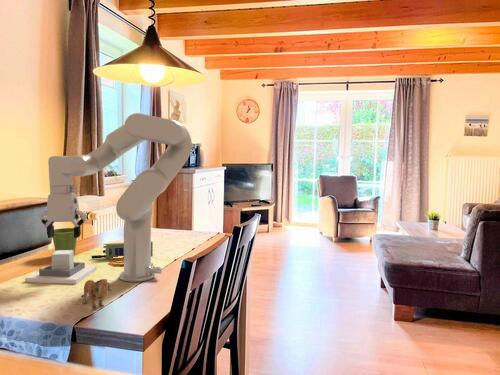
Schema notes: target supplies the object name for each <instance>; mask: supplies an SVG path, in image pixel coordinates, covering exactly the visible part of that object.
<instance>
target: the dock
mask: <svg viewBox="0 0 500 375" xmlns="http://www.w3.org/2000/svg"><path fill="white" fill-rule="evenodd" d="M85 264H86V263H85V262H82V261H81V262H79V261H78V262H76V261H74V268H72V269H70V270H52V263H51V264H49V265H47V266H44V267H43V268H39V269H38V270H37V271H35V272H33V273H32V274H30V275H28V276H26V277H24V282H25V283H42V284H43V283H44V284H45V283H46V284H47V283H48V284H65V283H66V284H67V285H69V284H70V285H77V284H78V283H80V282H81V281H82V280H84V279H86V278H88V277H89V276H90V275H92V274H93V273H95V272H96V271H98V268H97V267H98V266H97V265H85Z"/></svg>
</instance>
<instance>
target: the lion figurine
mask: <svg viewBox="0 0 500 375" xmlns="http://www.w3.org/2000/svg"><path fill="white" fill-rule="evenodd" d="M113 288H114V285H112V284H111V283H109V282H108V279H106V278H101V279H99V280H97V281H95V280H92V279H88V280H87V281H85V282H84V286H83V294H82V295H81V296H80V297H81V298H83V302H82V305H86V304H88V301H87V298H89V299H90V300H91V311H96V310H97V306H96V301H98V306H99V308H104V305H105V304H103V299H105V297H106V296H108V293H111V292H112V290H113ZM87 295H89V296H87Z"/></svg>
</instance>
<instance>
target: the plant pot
mask: <svg viewBox="0 0 500 375" xmlns="http://www.w3.org/2000/svg"><path fill="white" fill-rule="evenodd" d="M51 238H52V240H53V241H52V242H53V247H54V250H55V251H57V250H73V252H74V256H75V255H76V249H77V242H78V238H74V227H63V228H54V237H51ZM55 251H54V252H55Z"/></svg>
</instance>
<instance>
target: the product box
mask: <svg viewBox="0 0 500 375" xmlns="http://www.w3.org/2000/svg"><path fill="white" fill-rule="evenodd" d="M74 258H75V255H74V252H73V250H57V251H54V252H53V253H51V264H52V270H70V269H72V268H74V262H75V260H74Z"/></svg>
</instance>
